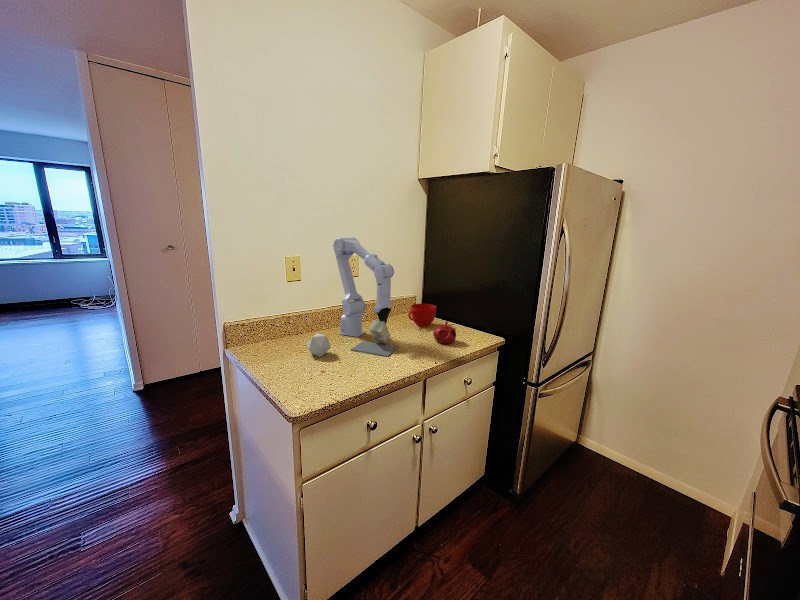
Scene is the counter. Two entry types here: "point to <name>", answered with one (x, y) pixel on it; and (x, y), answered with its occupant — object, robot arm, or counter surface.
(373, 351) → the mat
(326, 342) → the die
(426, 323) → the ceramic cup
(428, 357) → the counter surface
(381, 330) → the block
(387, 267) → the robot arm
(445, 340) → the pomegranate
